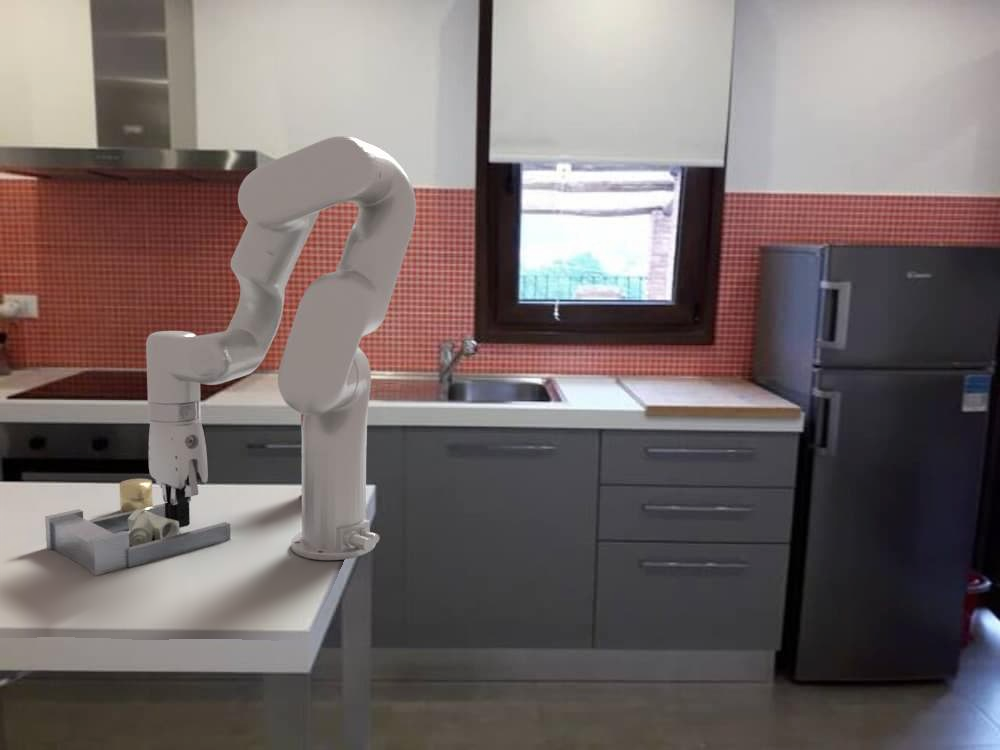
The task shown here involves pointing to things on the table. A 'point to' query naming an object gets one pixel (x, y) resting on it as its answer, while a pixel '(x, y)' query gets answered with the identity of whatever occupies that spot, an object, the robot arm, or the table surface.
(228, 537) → the pipe jig
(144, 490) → the cylinder
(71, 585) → the table surface
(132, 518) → the pipe fitting
